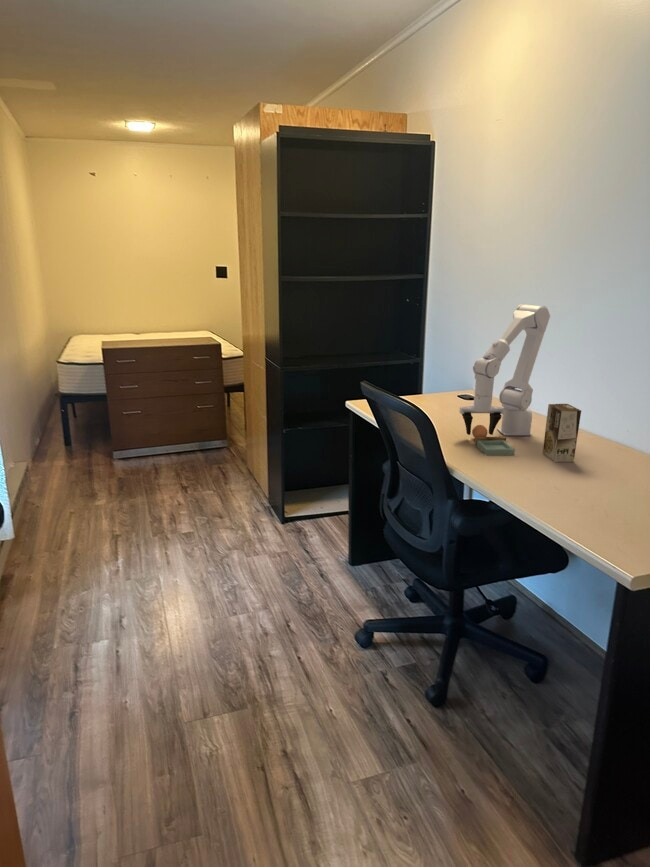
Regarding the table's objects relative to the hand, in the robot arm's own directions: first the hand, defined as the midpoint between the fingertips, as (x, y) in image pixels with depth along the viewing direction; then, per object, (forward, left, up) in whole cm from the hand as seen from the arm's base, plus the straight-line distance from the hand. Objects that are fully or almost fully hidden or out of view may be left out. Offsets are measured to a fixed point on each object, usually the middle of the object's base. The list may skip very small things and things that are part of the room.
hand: (479, 434), depth 199 cm
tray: (-2, +11, -2) cm, 12 cm away
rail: (-2, +5, -2) cm, 6 cm away
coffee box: (-19, +18, -2) cm, 27 cm away
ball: (0, 0, -2) cm, 2 cm away
